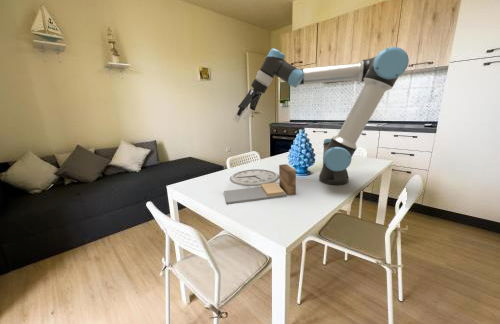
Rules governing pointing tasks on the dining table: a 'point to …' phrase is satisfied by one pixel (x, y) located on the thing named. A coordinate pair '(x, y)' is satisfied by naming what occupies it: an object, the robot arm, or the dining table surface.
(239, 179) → the wall clock
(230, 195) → the underlay board
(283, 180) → the brown wooden square block
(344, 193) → the dining table surface
